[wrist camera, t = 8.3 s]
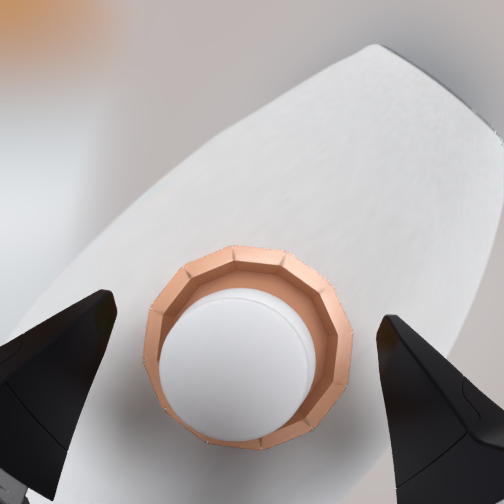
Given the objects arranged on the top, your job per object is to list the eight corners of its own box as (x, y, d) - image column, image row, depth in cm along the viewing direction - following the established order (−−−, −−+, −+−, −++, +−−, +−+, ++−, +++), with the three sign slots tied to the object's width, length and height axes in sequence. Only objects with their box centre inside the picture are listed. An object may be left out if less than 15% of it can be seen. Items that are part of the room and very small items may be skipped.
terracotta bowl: (360, 386, 17) (379, 395, 13) (203, 451, 16) (194, 471, 13) (292, 236, 19) (299, 217, 16) (140, 299, 18) (119, 292, 15)
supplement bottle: (205, 301, 17) (143, 262, 8) (298, 307, 17) (341, 275, 8) (198, 391, 16) (131, 446, 7) (291, 399, 16) (324, 467, 6)
